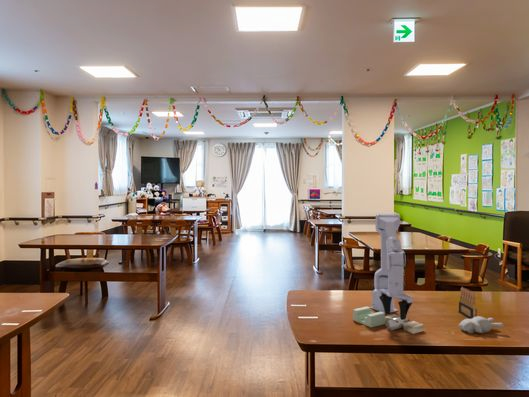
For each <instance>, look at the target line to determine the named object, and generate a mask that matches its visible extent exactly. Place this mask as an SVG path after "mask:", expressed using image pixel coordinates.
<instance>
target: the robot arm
mask: <svg viewBox="0 0 529 397" xmlns="http://www.w3.org/2000/svg"><path fill="white" fill-rule="evenodd" d="M400 224H401V218H400V215H399V213H377V214H376V215H375V231H376V232H378V233H379V235H380V268H379V269H377V270H376V271H375V273H374V278H373V285H374V289H373V291H372V292H371V306H370V308H371V310H372V309H373V310H376V311H377V312H384V313H385V315H388V314H391V313H394V312H398V311H399V310H400V311H399V316H400V318H401V320H404V319H406V317H407V315H408V313H409V310H410V307H411V306H412V304H413V300H414V298H413V297H412V296H410V295H409V294H406V293H404V272H405V271H404V269H405V268H404V267H405V266H406V262H407V260H406V259H407V258H406V252H405V251H404V249H402V244H401V241H400V239H399V238H398V237H397V231H398V229H399V227H400ZM395 299H397V300H400V301H397V304H398V306H399V309H397V308H395V307H394V306H395Z"/></svg>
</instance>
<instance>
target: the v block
mask: <svg viewBox="0 0 529 397" xmlns="http://www.w3.org/2000/svg"><path fill="white" fill-rule="evenodd" d="M371 310H372V308H371V306H363V307H358V308H354V309H352V311H353V312H352V321H354V322H357V323H358V324H359V323H360V324H362V325H364V326H367V327H369V328H374V327H378V326H382V325H386V323H385V316H386V314H385V313H384V312H380V311H377V312H373V311H371Z"/></svg>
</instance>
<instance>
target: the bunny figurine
mask: <svg viewBox="0 0 529 397" xmlns="http://www.w3.org/2000/svg"><path fill="white" fill-rule="evenodd" d="M494 320H495V319H494V318H493V317H488V318H485V317H484V316H479V315H477V317H474V318H472V319H469V318H465V319H463V320H462V321H461V322H460V323H458V329H461V330H462V331H464V332H467V333H468V334H473V333H478V334H480V333H481V334H484V333H489V332H490V331H491V329H492V327H494V328H504V327H505V326H504V323H503V322H494Z"/></svg>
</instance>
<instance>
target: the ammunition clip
mask: <svg viewBox="0 0 529 397" xmlns="http://www.w3.org/2000/svg"><path fill="white" fill-rule="evenodd" d="M459 294H460V295H459V301H458V314H460V315H462V316H463V317H465V318H466V319H472V318H474V317H477V316H478V315H477V314H478V313H477V310H478V309H477V307H476V306H477V300H476V294H475V291H472V290H471V291H470V289H468V288H466V287H463V286H461V288H460V293H459Z"/></svg>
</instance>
